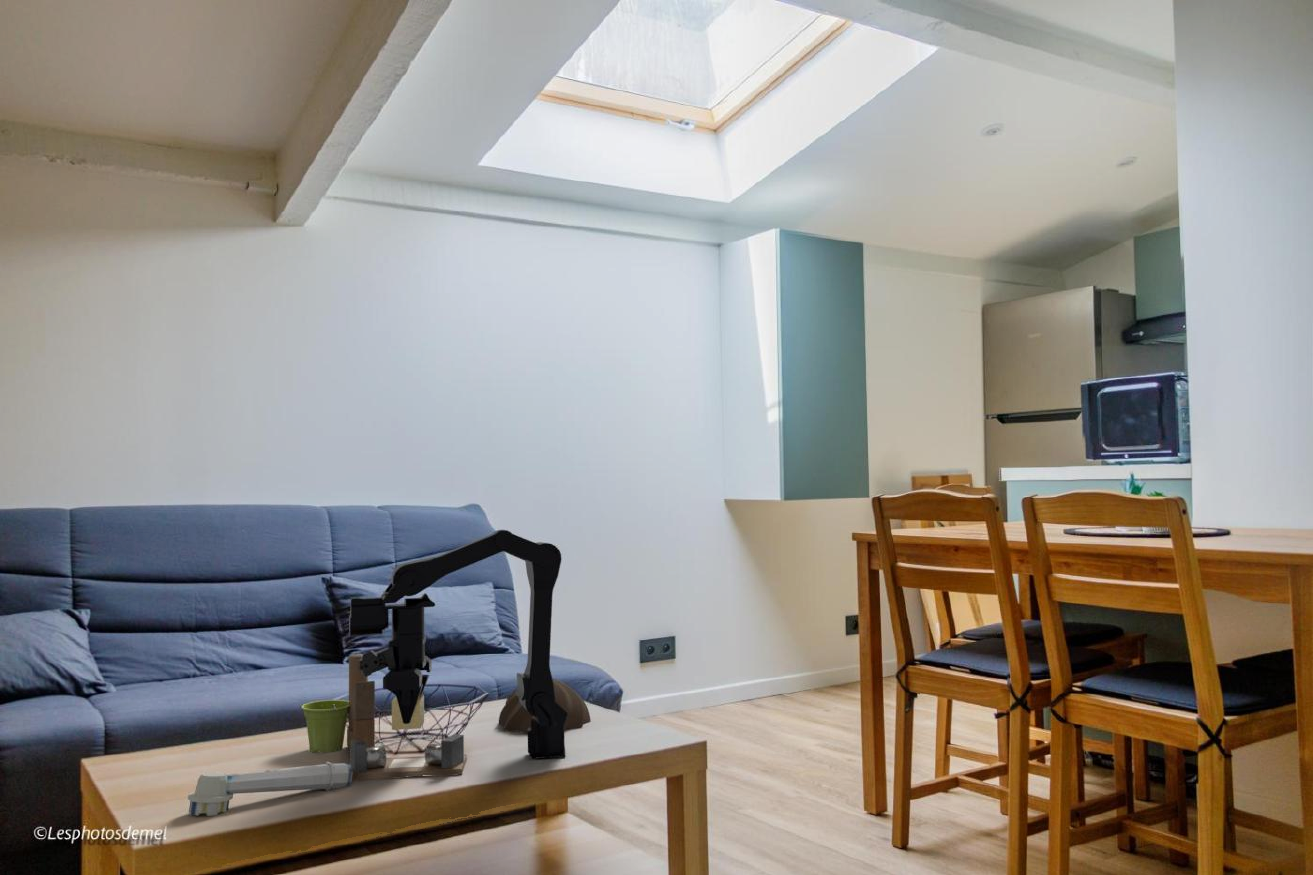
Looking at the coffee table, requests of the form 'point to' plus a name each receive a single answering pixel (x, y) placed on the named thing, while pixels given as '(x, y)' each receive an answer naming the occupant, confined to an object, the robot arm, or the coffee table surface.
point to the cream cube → (416, 718)
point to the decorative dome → (565, 696)
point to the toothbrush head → (264, 784)
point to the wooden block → (360, 704)
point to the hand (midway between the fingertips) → (408, 720)
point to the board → (407, 769)
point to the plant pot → (326, 724)
